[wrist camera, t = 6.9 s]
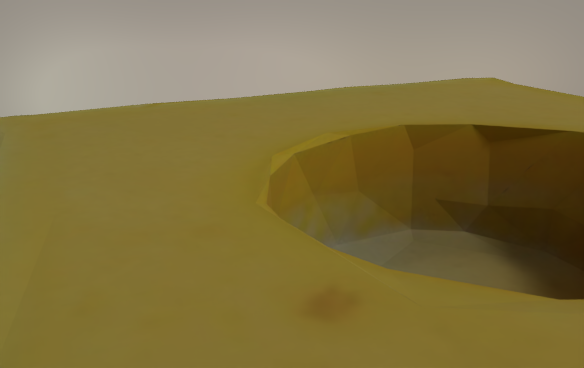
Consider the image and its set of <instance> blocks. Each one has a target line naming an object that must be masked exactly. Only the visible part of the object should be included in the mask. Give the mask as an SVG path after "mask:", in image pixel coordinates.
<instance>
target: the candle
mask: <svg viewBox="0 0 584 368" xmlns="http://www.w3.org/2000/svg"><path fill="white" fill-rule="evenodd" d="M0 368H584V97H582V96H576V95H571V94H566V93H560V92H555V91H550V90H544V89H539V88H533V87H528V86H523V85H517V84H513V83H510V82H506V81H503V80H499V79H496V78H465V79H464V78H462V79H452V80H441V81H430V82H419V83H406V84H392V85H377V86H376V85H375V86H358V87H344V88H334V89H325V90H316V91H307V92H297V93H285V94H274V95H263V96H253V97H242V98H230V99H214V100H199V101H184V102H169V103H153V104H141V105H131V106H121V107H110V108H100V109H90V110H80V111H69V112H59V113H49V114H38V115H21V116H9V117H0Z"/></svg>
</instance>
